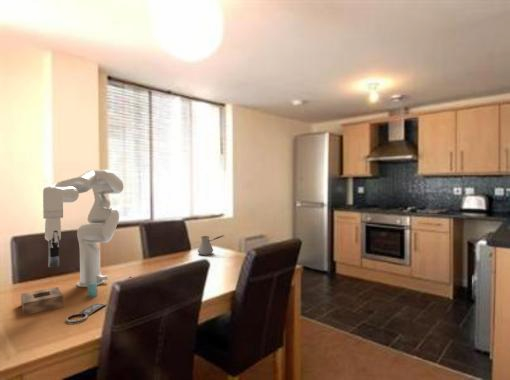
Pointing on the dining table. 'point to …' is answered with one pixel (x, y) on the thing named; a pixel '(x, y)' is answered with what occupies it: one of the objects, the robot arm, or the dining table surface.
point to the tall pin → (52, 260)
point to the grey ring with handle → (84, 313)
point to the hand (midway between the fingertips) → (53, 255)
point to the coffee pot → (206, 245)
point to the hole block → (41, 300)
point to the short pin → (92, 289)
